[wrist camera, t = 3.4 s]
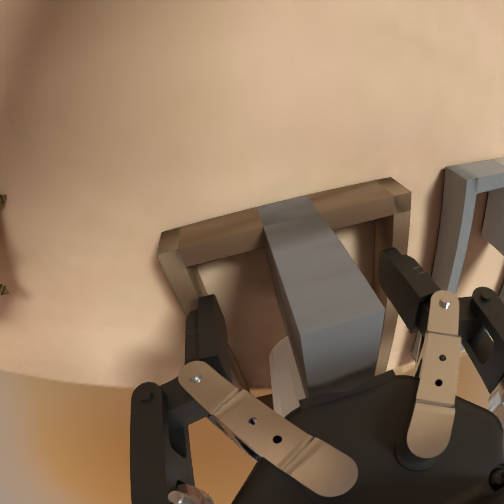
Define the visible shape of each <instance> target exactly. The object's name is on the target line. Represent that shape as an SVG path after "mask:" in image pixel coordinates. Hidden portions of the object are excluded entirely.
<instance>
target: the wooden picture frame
mask: <svg viewBox="0 0 504 504" xmlns="http://www.w3.org/2000/svg"><path fill="white" fill-rule="evenodd" d="M410 210H411V191H409V190H408V189H407V188H405V187H404V186H402V185H401V184H400V183H398V182H397V181H396V180H394V179H393V178H391V177H389V178H384V179H379V180H374V181H369V182H364V183H359V184H355V185H350V186H345V187H341V188H336V189H331V190H327V191H322V192H318V193H314V194H309V195H305V196H301V197H296V198H292V199H288V200H284V201H279V202H275V203H271V204H267V205H263V206H259V207H255V208H251V209H247V210H243V211H239V212H235V213H231V214H227V215H223V216H220V217H216V218H212V219H208V220H204V221H201V222H197V223H193V224H190V225H186V226H182V227H179V228H175V229H172V230H168V231H164V232H162V234H161V238H160V243H159V247H158V251H157V256H158V259H159V261H160V263H161V265H162V267H163V270H164V272H165V274H166V276H167V278H168V280H169V282H170V284H171V287H172V289H173V291H174V293H175V295H176V297H177V299H178V301H179V303H180V305H181V307H182V309H183V311H184V313H185V315H186V317H188V315H189V313H190V311H192V310H196V309H198V298H199V297H203V296H207V292H206V290H205V287H204V285H203V282H202V280H201V277H200V275H199V272H198V270H197V267H196V264H200V263H204V262H208V261H212V260H216V259H220V258H224V257H228V256H232V255H236V254H240V253H244V252H248V251H252V250H255V249H259V248H263V247H266V251H267V256H268V260H269V265H270V269H271V274H272V278H273V283H274V287H275V292H276V297H277V300H278V304H279V307H280V311H281V314H282V317H283V321H284V324H285V328H286V331H287V334H288V338H289V341H290V345H291V348H292V352H293V355H294V359H295V362H296V365H297V369H298V372H299V376H300V379H301V383H302V386H303V390H304V393H305V397H306V398H308V397H312V396H315V395H319V394H322V393H334V392H345V391H350V390H352V389H354V388H356V387H357V386H359V385H360V384H362V383H363V382H365V381H367V380H368V379H370V378H371V377H374V376H377V375H379V374H382V373H385V372H386V368H387V364H388V360H389V356H390V352H391V347H392V343H393V338H394V333H395V328H396V323H397V318H398V312H397V311H396V309H395V308H394V306H393V304H392V303H391V301H390V300H389V299H388V297H387V296H386V294H385V293H384V291H383V290H382V288H381V286H380V284H379V281H378V264H379V252H380V251H382V250H385V249H389V248H392V247H395V248H396V249H397V250H398V251H399V252H400V253H401V254H402V255H405V254H406V255H407V248H408V238H409V226H410ZM374 219H375V260H374V280H373V289H372V288H371V286H370V285H369V283H368V282H367V280H366V279H365V277H364V275H363V274H362V272H361V271H360V269H359V268H358V266H357V265H356V264H355V262H354V261H353V259H352V258H351V256H350V255H349V253H348V252H347V250H346V249H345V247H344V246H343V245H342V243H341V242H340V240H339V239H338V237H337V236H336V235H335V233H334V232H333V230H335V229H339V228H343V227H347V226H351V225H355V224H359V223H363V222H367V221H370V220H374ZM228 348H229V357H230V366H231V375H232V383H233V385H234V386H235V387H236V388H238V389H244V390H246V391H248V392H249V393H250V391H249V389H248V386H247V384H246V382H245V380H244V378H243V376H242V373H241V371H240V369H239V367H238V365H237V362H236V360H235V358H234V356H233V353H232V351H231V349H230V347H229V344H228ZM250 394H251V393H250ZM256 398H257V399H258V400H260V401H261V402H262V403H264V404H265V405H267V406H268V407H269V408H271V409H272V410H273V411H274V406H273V396H272V394H270V395H266V396H261V397H256Z"/></svg>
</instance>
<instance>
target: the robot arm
mask: <svg viewBox="0 0 504 504" xmlns="http://www.w3.org/2000/svg"><path fill="white" fill-rule="evenodd" d="M378 281H379V284H380V286H381V288H382V290H383V291H384V293H385V294H386V296H387V297H388V299H389V300H390V301H391V303H392V304H393V306H394V308H395V309H396V311H397V312H398V314H399V315H400V317H401V318H402V320H403V321H404V323H405V324H406V326H407V328H408V329H409V331H410V332H411V334H412V333H415V332H417V331H420V333H421V337H420V342H419V348H418V353H417V358H416V363H415V368H414V372H413V375H412V376H408V375H395V373H394V371H393V369H392V370H390V371H387V372H385V373H382V374H379V375H377V376H374V377H371V378H370V379H368V380H367V381H365V382H363V383H362V384H360V385H359V386H357V387H356V388H354V389H352V390H350V391H345V392H334V393H322V394H319V395H315V396H312V397H308V398H305V399H301V400H299V404H300V407H298V408H296V409H294V410H293V411H291V412H290V413H289V414H287V415H286V416H285V417H284V418H283V417H282V416H281V415H279V414H278V413H276V412H275V411H273V410H272V409H271V408H269V407H268V406H267V405H265V404H264V403H262V402H261V401H260V400H258V399H257V398H256V397H254V396H253V395H252V394H250V393H249V392H248V391H246V390H244V389H238V388H236V387H235V386H234V385H233V383H232V375H231V366H230V357H229V348H228V338H227V329H226V324H225V320H224V317H223V314H222V312H221V309H220V306H219V304H218V301H217V299H216V296H215V294H212V295H207V296H203V297H199V298H198V309H196V310H192V311H190V313H189V315H188V317H187V318H186V330H185V336H186V338H185V365H184V366H183V367H182V369H181V370H180V372H179V374H178V377H176V378H175V379H173V380H172V381H170V382H167V383H165V384H163V385H161V386H158V385H157V384H156V383H153V382H146V383H143V384H141V385H139V386H138V387H137V388H136V389H135V390H134V392H133V394H132V398H131V421H130V480H131V501H132V504H214V503H213V500H212V498H211V497H210V496H209V494H207V493H206V492H204V491H202V490H200V489H198V488H196V487H195V483H194V476H193V468H192V460H191V452H190V442H189V433H188V425H189V424H191V423H193V422H196V421H198V420H200V419H202V418H204V417H207V418H208V419H209V420H210V421H211V422H212V423H213V424H214V425H216V426H217V427H218V428H219V429H220V430H221V431H222V432H223V433H224V434H225V435H227V436H228V437H229V438H230V439H231V440H232V441H233V442H234V443H235V444H236V445H237V446H238V447H239V448H240V449H242V450H243V451H244V452H245V453H246V454H248V455H249V456H250V457H251V458H252V459H253V460H255V461H256V462H257V463H256V465H255V466H254V468H253V470H252V471H251V473H250V475H249V476H248V478H247V480H246V481H245V483H244V484H243V486H242V487H241V489H240V491H239V492H238V494H237V495H236V497H235V499H234V500H233V502H232V503H231V504H504V303H503V302H502V301H501V299H500V298H499V297H498V296H497V294H496V293H495V292H494V291H493V290H491V289H489V288H487V287H478V288H476V289H475V290H474V292H473V295H472V297H462V298H457V296H456V295H455V294H453V293H452V292H449V291H446V290H441V289H440V288H439V287H438V286H437V285H436V283H435V282H434V281H433V280H432V279H431V277H430V276H429V275H428V274H427V273H426V272H425V271H424V269H423V268H422V267H420V265H419V264H418V263H417V262H416V260H415V259H413V258H411V257H410V256H408V255H406V254H405V255H402V254H401V253H400V252H399V251H398V250H397V249H396V248H395V247H392V248H389V249H385V250H382V251H380V252H379V264H378ZM485 330H487V331H488V333H489V334H490V336H491V337H492V339H493V341H494V343H493V341H492V339H491V338H490V336H489V335H488V333H487V332H486V331H485ZM461 343H462V345H463V347H464V348H465V350H466V352H467V353H468V355H469V357H470V359H471V360H472V362H473V363H474V366H475V367H476V369H477V371H478V373H479V374H480V376H481V378H482V380H483V382H484V384H485V386H486V387H487V389H488V391H489V393H490V396H489V410H487V409H485V408H482V407H480V406H478V405H476V404H473V403H471V402H469V401H467V400H465V399H462V398H460V397H458V396H456V389H457V381H458V373H459V363H460V352H461Z"/></svg>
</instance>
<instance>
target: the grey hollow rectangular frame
mask: <svg viewBox="0 0 504 504" xmlns="http://www.w3.org/2000/svg"><path fill="white" fill-rule="evenodd" d="M486 191H489V194H488V201H487V207H486V213H485V218H484V223H483V228H482V233H481V236H482V237H483V238H485V239H486V240H487V241H488V242H489V243H490V244H491V245H493V246H494V247H495V248H496V249H497V250H498V251H499V252H500V253H501V254H502V255H503V256H504V158H499V159H492V160H485V161H479V162H472V163H466V164H460V165H454V166H448V167H445V180H444V193H443V204H442V214H441V222H440V230H439V237H438V243H437V250H436V255H435V261H434V267H433V272H432V277H431V279H432V280H433V281H434V282H435V283H436V285H437V286H438V287H439V288H440V289H441V290H446V291H449V292H452V293H453V294H455V293H456V290H457V286H458V283H459V279H460V275H461V271H462V267H463V263H464V259H465V255H466V251H467V246H468V241H469V237H470V231H471V226H472V221H473V215H474V208H475V202H476V194H478V193H482V192H486ZM499 298H500V299H501V301H502V302H503V303H504V284H503V287H502V289H501V292H500V295H499ZM485 331H486V332H487V333H488V331H487V330H485ZM488 335H490V334H489V333H488ZM420 337H421V333H420V331H418V334H417V337H416V341H415V344H414V347H413V351H412V354H411V355H412V357H413V359H414V361H415V363H416V358H417V353H418V348H419V342H420ZM464 349H465V348H464V347H463V345H462V343H461V351H462V350H464Z"/></svg>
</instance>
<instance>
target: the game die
mask: <svg viewBox="0 0 504 504" xmlns="http://www.w3.org/2000/svg"><path fill="white" fill-rule="evenodd" d="M5 197H6V195H0V204H1V203H3V201H4V199H5ZM0 294H1V295H3V294H9V292H8V291H7V289H6V287H5V286H3V285H2V284H0Z"/></svg>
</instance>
